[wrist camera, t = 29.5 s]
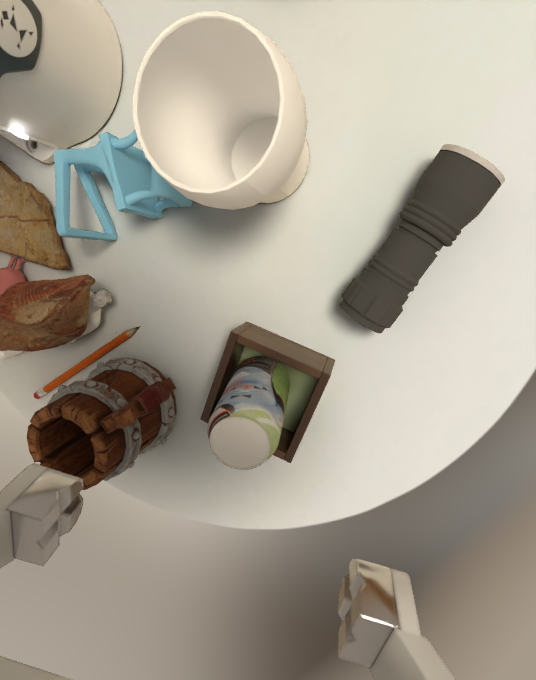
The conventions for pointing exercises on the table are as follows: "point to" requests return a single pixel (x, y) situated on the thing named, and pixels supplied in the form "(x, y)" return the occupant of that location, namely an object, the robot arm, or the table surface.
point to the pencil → (85, 362)
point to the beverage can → (250, 414)
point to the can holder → (303, 371)
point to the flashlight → (422, 234)
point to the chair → (112, 184)
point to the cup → (221, 113)
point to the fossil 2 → (44, 313)
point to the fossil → (28, 223)
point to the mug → (103, 421)
